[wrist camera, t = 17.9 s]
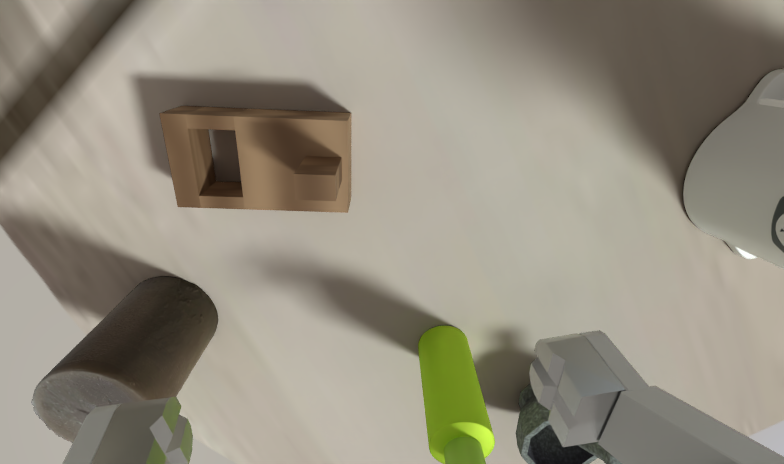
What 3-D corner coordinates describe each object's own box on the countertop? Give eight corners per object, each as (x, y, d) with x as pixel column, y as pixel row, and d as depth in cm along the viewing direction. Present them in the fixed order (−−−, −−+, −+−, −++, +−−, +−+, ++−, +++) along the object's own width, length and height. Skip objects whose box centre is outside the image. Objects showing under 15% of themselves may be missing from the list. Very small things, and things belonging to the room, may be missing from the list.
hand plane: (351, 112, 36) (341, 134, 28) (351, 196, 40) (342, 237, 32) (181, 105, 36) (122, 125, 28) (196, 191, 39) (148, 231, 31)
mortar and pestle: (541, 433, 55) (579, 530, 44) (489, 405, 53) (517, 500, 42) (604, 383, 51) (664, 475, 40) (552, 349, 49) (600, 439, 38)
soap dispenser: (401, 339, 48) (412, 524, 30) (456, 318, 46) (502, 496, 28) (422, 373, 50) (444, 563, 32) (474, 353, 49) (528, 539, 31)
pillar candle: (209, 274, 43) (126, 381, 30) (226, 346, 48) (160, 468, 34) (118, 275, 43) (-6, 382, 30) (142, 347, 48) (44, 469, 34)
